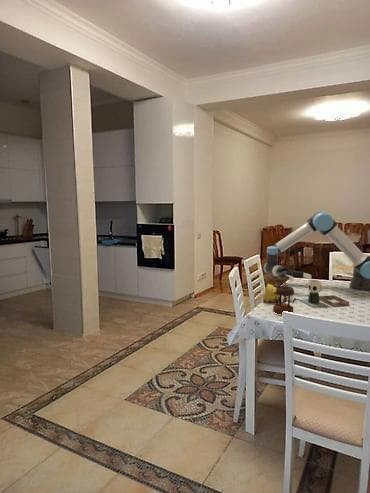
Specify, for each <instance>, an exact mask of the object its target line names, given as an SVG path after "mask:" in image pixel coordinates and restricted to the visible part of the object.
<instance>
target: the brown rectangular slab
mask: <svg viewBox="0 0 370 493" xmlns="http://www.w3.org/2000/svg"><path fill="white" fill-rule="evenodd" d="M331 300H334V301H335V302H334V301H331ZM319 301H320V302H322V303H324V304H326V305H328V306H331V307H347V306H350V301H348V300H346V299H344V298H341V297H339V296H336V295H335V294H334V295H332V294H331V295H330V294H329V295H319Z"/></svg>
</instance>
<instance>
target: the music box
mask: <svg viewBox="0 0 370 493" xmlns="http://www.w3.org/2000/svg"><path fill="white" fill-rule="evenodd" d="M273 281H275V285H277V283H278V285H277V286H276V288H277V289H276V292H274V294H276V295H280V298H279V297H278V300H277V297H275V299H274V300H273V301H272V302H273V303H275V304H274V305H273V308H272V312H275V313H277V314H281V315H282V312H283V311H288V312H293V313H294V307H293V305H291V303H292V304H294V303H295V301H300V300H301V299H299V298H295V297H294V298H293V300H291V296H293V295H294V294H295V289H294V288H293V287H292V286H288V285H287V279H286V278H285V277H283V278H279V277H277V278H276V279H273ZM282 283H284V285H280V284H282ZM282 297H283V299H282ZM279 300H280V301H279ZM275 313H274V314H275ZM277 314H276V315H277ZM281 315H280V316H281Z"/></svg>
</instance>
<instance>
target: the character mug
mask: <svg viewBox="0 0 370 493" xmlns="http://www.w3.org/2000/svg"><path fill="white" fill-rule="evenodd" d="M305 288H307V290H308V292H309V294H308V298H307V299H308V302H312V303H318V302H319V301H320V300H319V296H320V294H319V293H320V292H323V291H324V288H325V287H324V285H322V281H321V280H317V279H308V281H307V282H306V283H305Z"/></svg>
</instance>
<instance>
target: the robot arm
mask: <svg viewBox="0 0 370 493" xmlns="http://www.w3.org/2000/svg"><path fill="white" fill-rule="evenodd" d="M317 231H318V232H319V233H320V234H322V236H324V237H328V238H329V240H330V241H331V243H333V244H334V245H335V246H336V247H337V248H338V250H340V251H341V253H343V254H344V256H346V257H347V258H348V259H349V260H350V262H352V267H353V272H352V278H351V280H350V282H349V288H350V289H352V290H355V289H356V290H355V291H361V290H370V255H369V254H368V253H364V252H362V251H361V250H360V249H359V247H358V246H357V245H356V244H355V243H354V242H353V241H352V240H351V239H350V238H349V237H348V236H347V235H346V234H345V233H344V232H343V231H342V230H341V229H340V228H339V223H338V222H337V221H336V220H335V219H334V217H333V216H332V215H331V214H330V213H328V212H326V211H325V212H324V211H318V212H316V213H314V214H313V215H312V216H311V217H310V218H308V219H307V220H306V221H305V223H303V225H301V226H300V227H298V228H297V229H295V230H294V231H292V232H291V233H290V234H287V236H285V237H284V238H282V239H281V240H279V241H277V242H276V243H275V244H273V245H271V246H267V248H266V263H264V266H263V271H264V272H265V273H266V274H268V275H272V276H275V277H276V278H283V277H285V278H286V281H287V280H288V281H290V282H294V277H300V278H301V277H302V278H304V279H308V280H312V274H309V273H307V272H306V271H297V270H289V269H288V268H287V267H286V266H282V265H279V264H278V263H279V262H278V261H279V255H280V254H281V253H282V254H283V252H285V251H286V250H287V249H289V248H291V247H292V246H293V245H295V244H297V243H298V242H300V241H301V240H303V239H304V238H305V237H307V236H308V235H310V234H311V233H316V232H317Z"/></svg>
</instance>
